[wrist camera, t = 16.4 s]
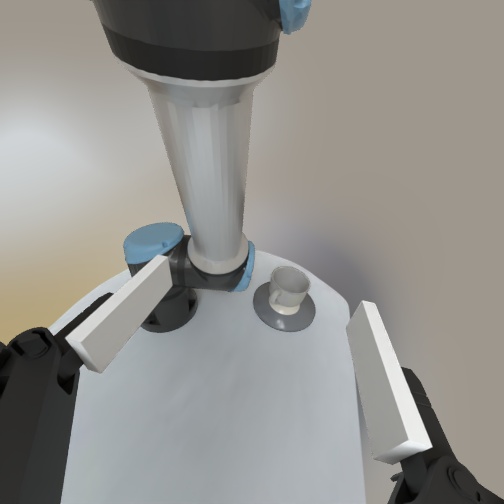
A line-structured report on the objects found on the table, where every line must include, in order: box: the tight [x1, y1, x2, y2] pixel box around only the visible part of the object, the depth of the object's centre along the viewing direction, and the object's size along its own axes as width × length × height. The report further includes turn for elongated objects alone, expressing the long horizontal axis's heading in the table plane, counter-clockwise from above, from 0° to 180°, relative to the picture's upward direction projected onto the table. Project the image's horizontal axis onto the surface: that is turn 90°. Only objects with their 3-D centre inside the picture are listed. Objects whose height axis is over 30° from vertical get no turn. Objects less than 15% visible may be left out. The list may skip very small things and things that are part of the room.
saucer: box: [253, 282, 315, 332], centre depth 58 cm, size 18×18×1 cm
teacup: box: [269, 266, 310, 307], centre depth 56 cm, size 14×11×8 cm
